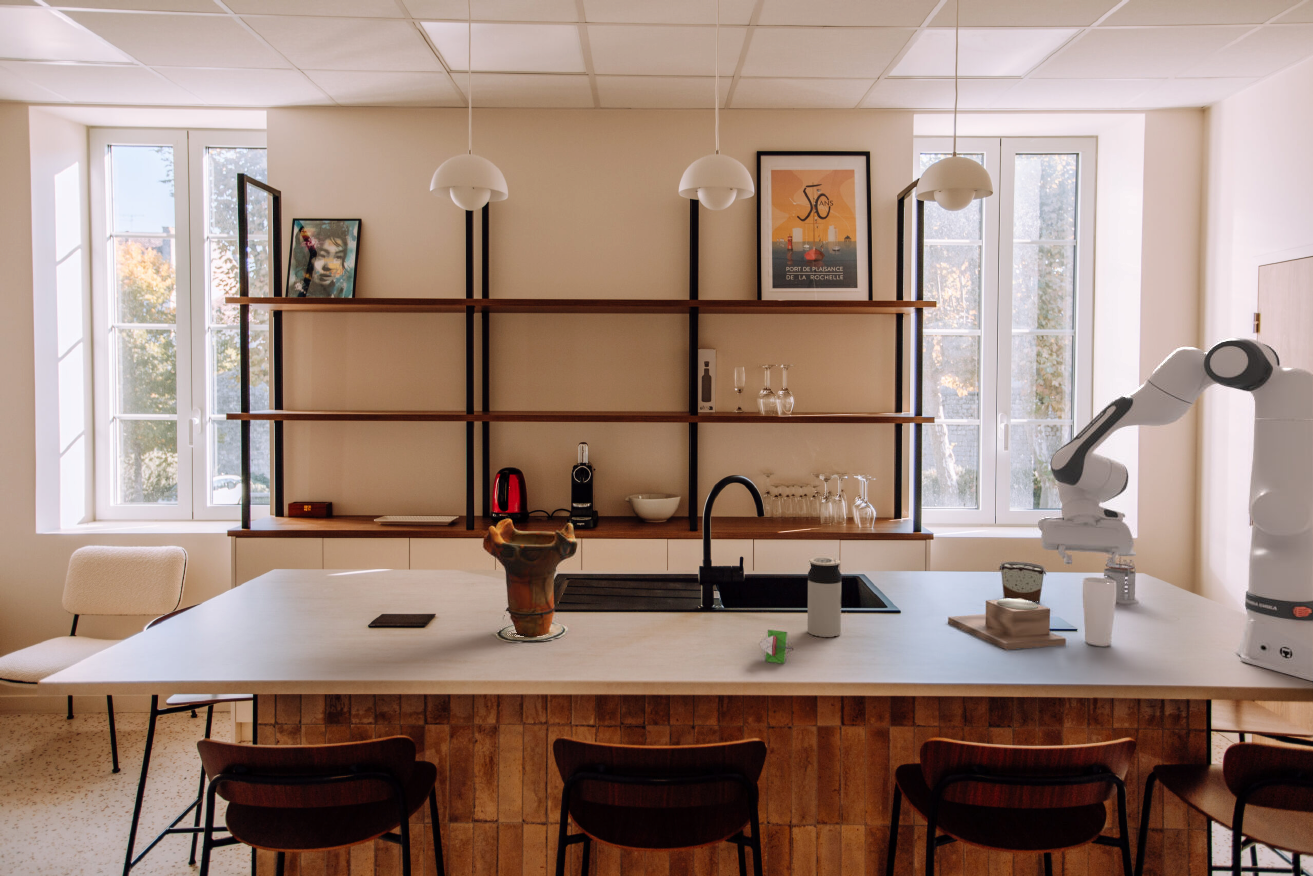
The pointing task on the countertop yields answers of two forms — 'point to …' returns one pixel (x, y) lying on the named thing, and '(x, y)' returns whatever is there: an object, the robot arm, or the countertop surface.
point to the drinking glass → (1098, 610)
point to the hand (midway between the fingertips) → (1090, 564)
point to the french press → (1123, 579)
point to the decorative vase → (530, 577)
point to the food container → (1022, 580)
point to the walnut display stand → (1011, 624)
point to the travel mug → (824, 597)
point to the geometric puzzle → (775, 646)
